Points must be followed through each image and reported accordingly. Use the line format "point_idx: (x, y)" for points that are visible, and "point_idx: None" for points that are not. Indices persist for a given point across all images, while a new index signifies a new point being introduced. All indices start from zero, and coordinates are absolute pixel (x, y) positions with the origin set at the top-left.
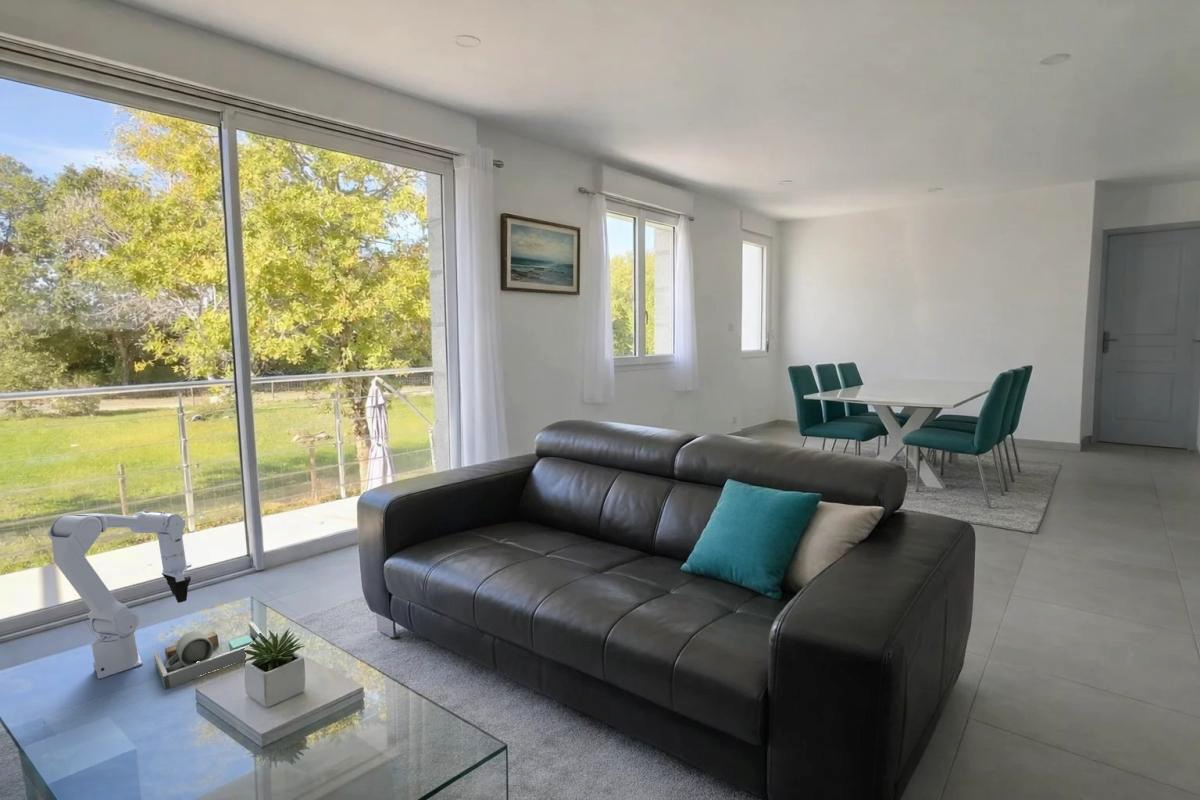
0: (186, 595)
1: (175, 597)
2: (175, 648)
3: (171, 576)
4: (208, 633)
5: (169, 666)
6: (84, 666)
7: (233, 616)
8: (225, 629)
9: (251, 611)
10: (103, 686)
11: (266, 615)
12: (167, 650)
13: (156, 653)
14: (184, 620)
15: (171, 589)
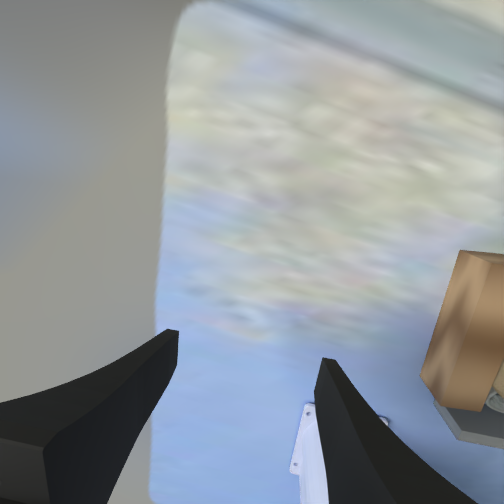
0: (350, 383)
1: (320, 429)
2: (481, 390)
3: (98, 488)
4: (486, 284)
5: (498, 396)
6: (255, 473)
7: (302, 122)
8: (392, 189)
9: (324, 43)
10: None
11: (439, 4)
12: (465, 406)
13: (460, 434)
14: (179, 253)
15: (159, 396)
